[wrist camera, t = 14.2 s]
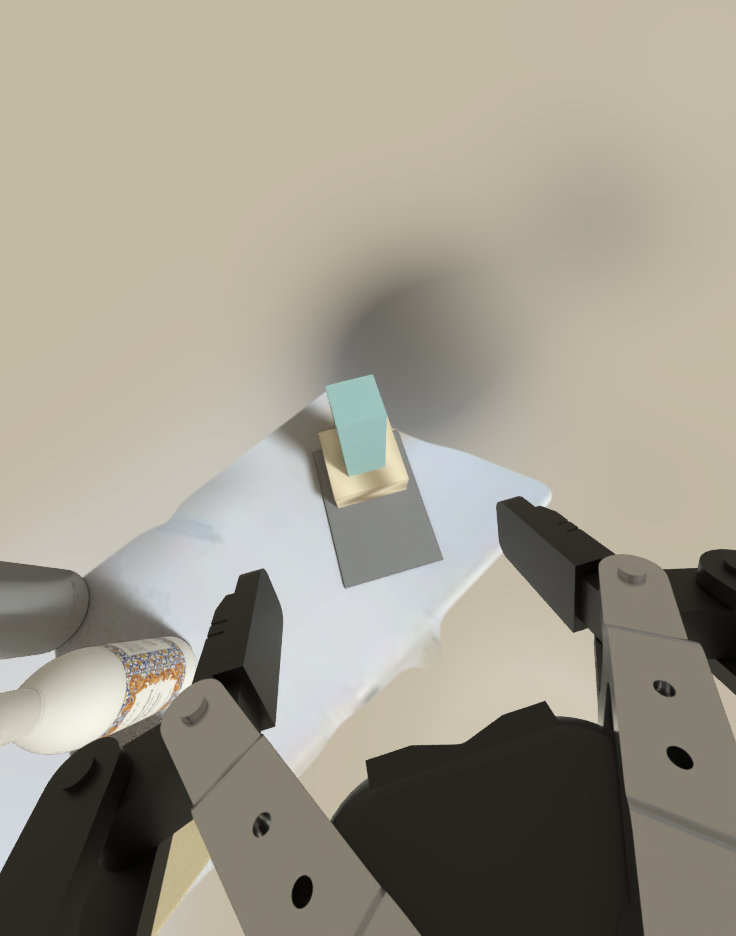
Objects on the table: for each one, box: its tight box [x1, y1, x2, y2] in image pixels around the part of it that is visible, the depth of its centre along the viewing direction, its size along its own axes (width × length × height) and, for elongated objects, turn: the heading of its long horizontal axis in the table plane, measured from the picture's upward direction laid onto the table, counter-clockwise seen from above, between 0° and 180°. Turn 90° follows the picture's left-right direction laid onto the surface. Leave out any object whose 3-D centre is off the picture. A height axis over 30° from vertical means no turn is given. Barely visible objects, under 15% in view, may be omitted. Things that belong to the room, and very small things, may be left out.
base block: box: [318, 417, 409, 508], centre depth 44 cm, size 9×9×4 cm
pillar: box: [326, 374, 387, 477], centre depth 36 cm, size 4×4×12 cm
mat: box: [313, 430, 443, 588], centre depth 44 cm, size 12×18×1 cm, turn 15°
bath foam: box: [0, 636, 196, 755], centre depth 29 cm, size 7×7×20 cm
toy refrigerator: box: [151, 819, 211, 936], centre depth 24 cm, size 8×7×21 cm
